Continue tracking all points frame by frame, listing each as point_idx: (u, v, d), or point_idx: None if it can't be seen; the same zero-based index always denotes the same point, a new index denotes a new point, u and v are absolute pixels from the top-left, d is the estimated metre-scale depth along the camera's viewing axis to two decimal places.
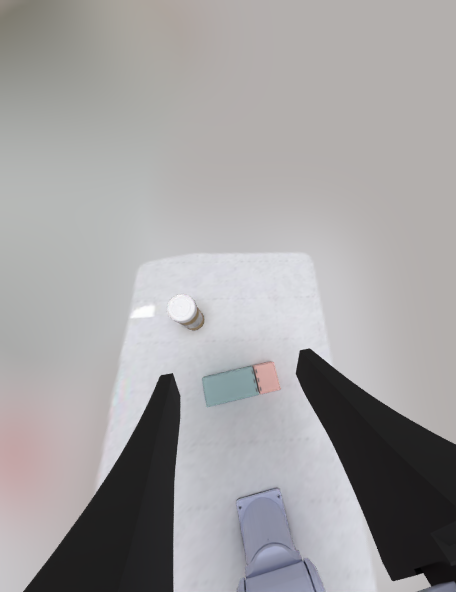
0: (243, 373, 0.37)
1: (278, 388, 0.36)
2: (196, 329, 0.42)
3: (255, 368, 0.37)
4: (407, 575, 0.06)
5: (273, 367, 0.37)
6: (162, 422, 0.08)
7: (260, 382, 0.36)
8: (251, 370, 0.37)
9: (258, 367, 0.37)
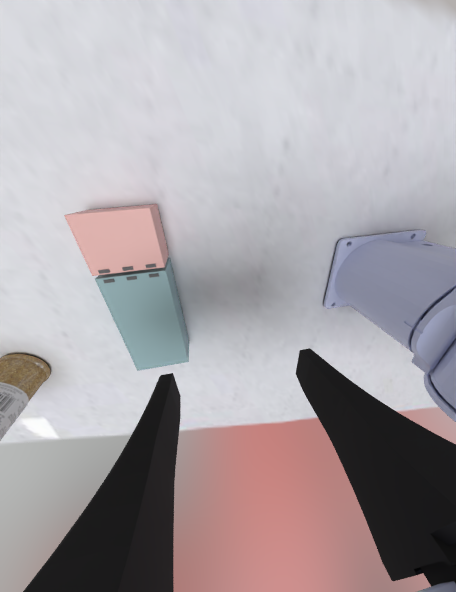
0: (116, 300, 0.15)
1: (147, 214, 0.12)
2: (44, 367, 0.20)
3: (97, 272, 0.13)
4: (407, 575, 0.06)
5: (82, 218, 0.12)
6: (162, 422, 0.08)
7: (134, 264, 0.14)
8: (104, 282, 0.14)
9: (92, 264, 0.13)
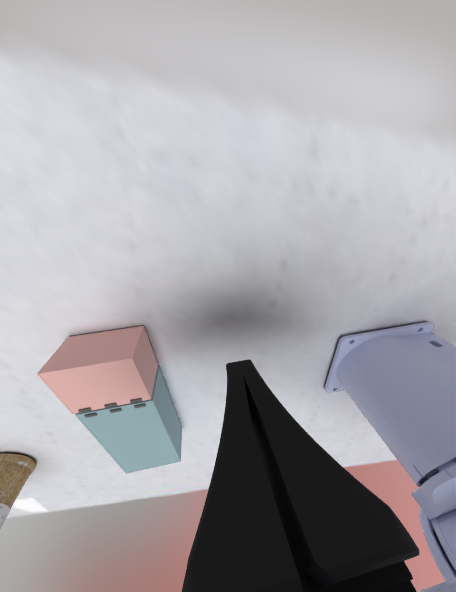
0: (99, 427, 0.14)
1: (130, 363, 0.11)
2: (28, 464, 0.19)
3: (77, 410, 0.12)
4: None
5: (58, 374, 0.11)
6: None
7: (117, 400, 0.12)
8: (86, 416, 0.13)
9: (71, 405, 0.12)
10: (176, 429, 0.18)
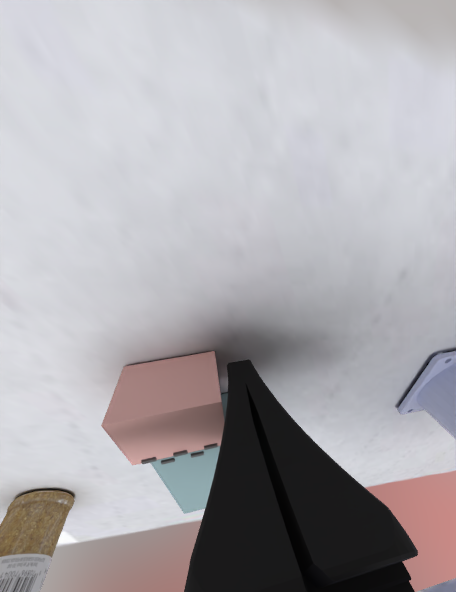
0: (172, 472, 0.11)
1: (216, 407, 0.09)
2: (67, 501, 0.16)
3: (138, 461, 0.10)
4: None
5: (127, 425, 0.08)
6: None
7: (189, 448, 0.10)
8: (162, 463, 0.10)
9: (133, 456, 0.09)
10: None
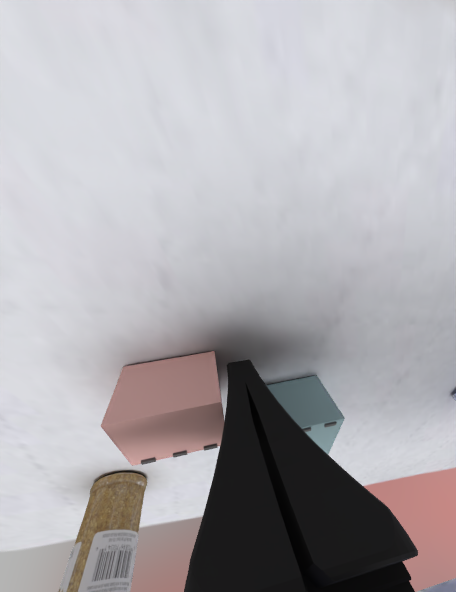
0: None
1: (216, 408, 0.08)
2: (144, 483, 0.17)
3: (138, 461, 0.10)
4: None
5: (126, 425, 0.08)
6: None
7: (188, 448, 0.10)
8: None
9: (133, 457, 0.09)
10: None
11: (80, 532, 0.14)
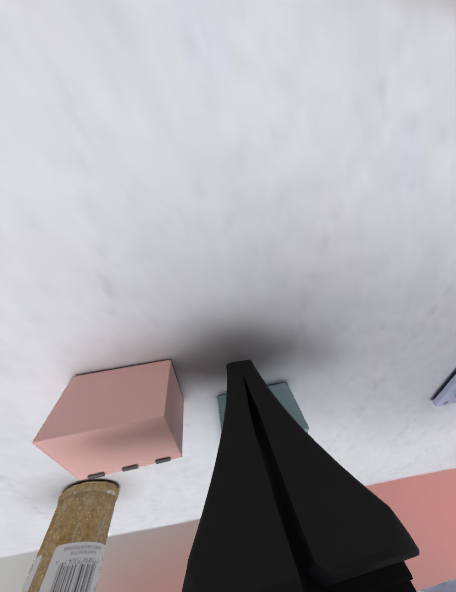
0: None
1: (160, 422, 0.08)
2: (115, 492, 0.16)
3: (85, 476, 0.09)
4: None
5: (61, 441, 0.08)
6: None
7: (139, 462, 0.09)
8: None
9: (78, 472, 0.09)
10: None
11: (42, 545, 0.13)
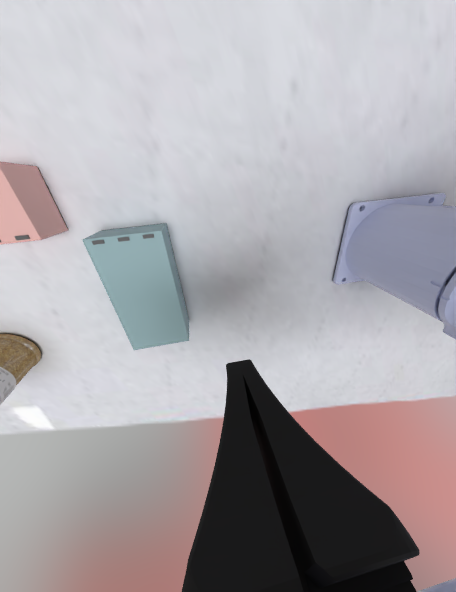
0: (107, 266, 0.13)
1: None
2: (33, 348, 0.18)
3: None
4: None
5: None
6: None
7: None
8: (93, 244, 0.12)
9: None
10: (184, 308, 0.18)
11: None
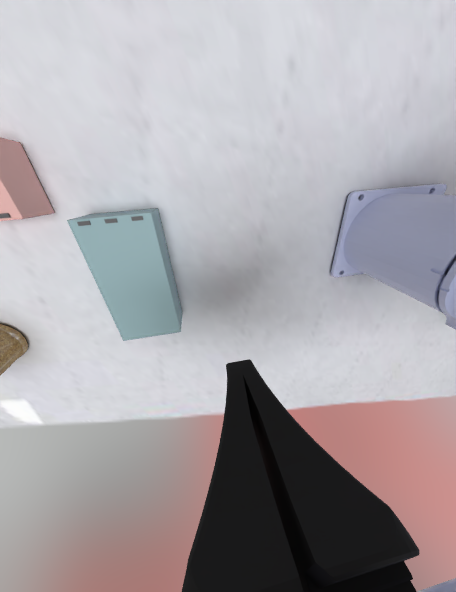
0: (94, 249, 0.13)
1: None
2: (19, 338, 0.18)
3: None
4: None
5: None
6: None
7: None
8: (78, 225, 0.12)
9: None
10: (176, 299, 0.17)
11: None
